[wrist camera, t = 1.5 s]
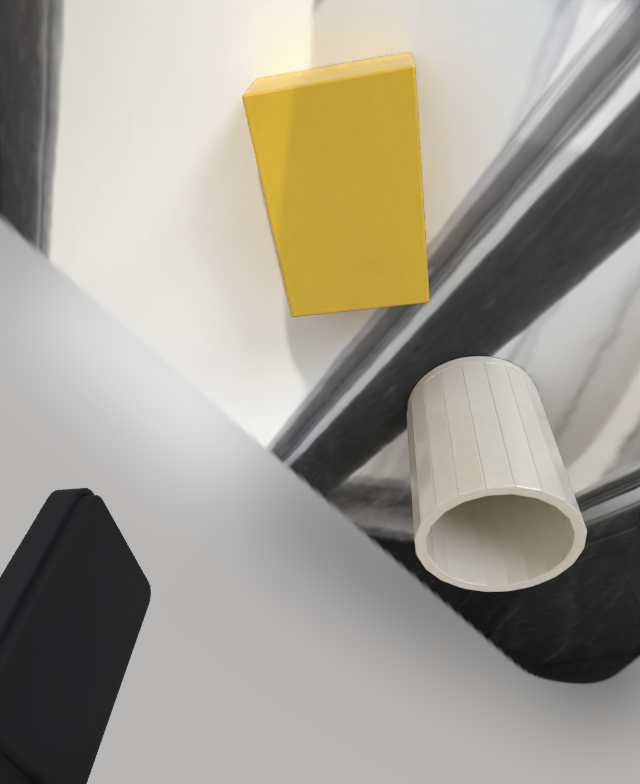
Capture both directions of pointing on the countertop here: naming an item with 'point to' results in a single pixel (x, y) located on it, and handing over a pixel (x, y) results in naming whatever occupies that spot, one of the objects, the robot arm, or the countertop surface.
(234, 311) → the countertop surface
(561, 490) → the cup
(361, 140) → the block
